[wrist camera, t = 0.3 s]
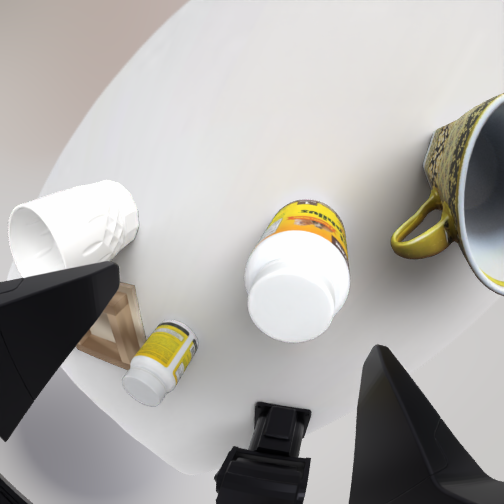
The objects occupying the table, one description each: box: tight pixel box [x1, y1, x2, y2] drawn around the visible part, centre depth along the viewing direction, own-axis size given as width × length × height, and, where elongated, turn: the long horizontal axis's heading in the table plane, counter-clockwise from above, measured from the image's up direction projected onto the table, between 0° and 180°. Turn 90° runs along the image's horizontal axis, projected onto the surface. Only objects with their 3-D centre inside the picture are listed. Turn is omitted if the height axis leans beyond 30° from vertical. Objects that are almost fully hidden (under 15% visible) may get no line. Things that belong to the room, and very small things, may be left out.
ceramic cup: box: [391, 93, 504, 296], centre depth 13 cm, size 13×10×10 cm
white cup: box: [8, 180, 139, 278], centre depth 21 cm, size 8×8×10 cm
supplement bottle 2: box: [244, 199, 350, 343], centre depth 17 cm, size 6×6×10 cm
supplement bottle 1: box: [122, 320, 198, 407], centre depth 26 cm, size 5×5×8 cm
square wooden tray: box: [76, 282, 146, 370], centre depth 31 cm, size 11×11×3 cm
